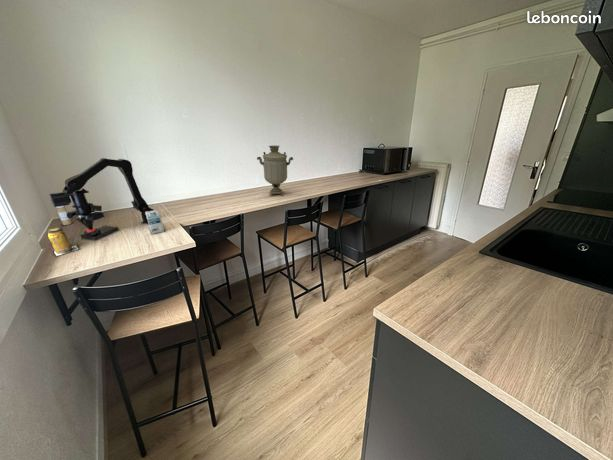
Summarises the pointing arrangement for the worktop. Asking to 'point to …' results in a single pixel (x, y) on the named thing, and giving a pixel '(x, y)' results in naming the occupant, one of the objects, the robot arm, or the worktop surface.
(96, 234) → the black control pad
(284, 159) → the samovar
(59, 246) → the condiment
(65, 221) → the sprinkles bottle
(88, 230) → the button
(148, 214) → the light bulb box
